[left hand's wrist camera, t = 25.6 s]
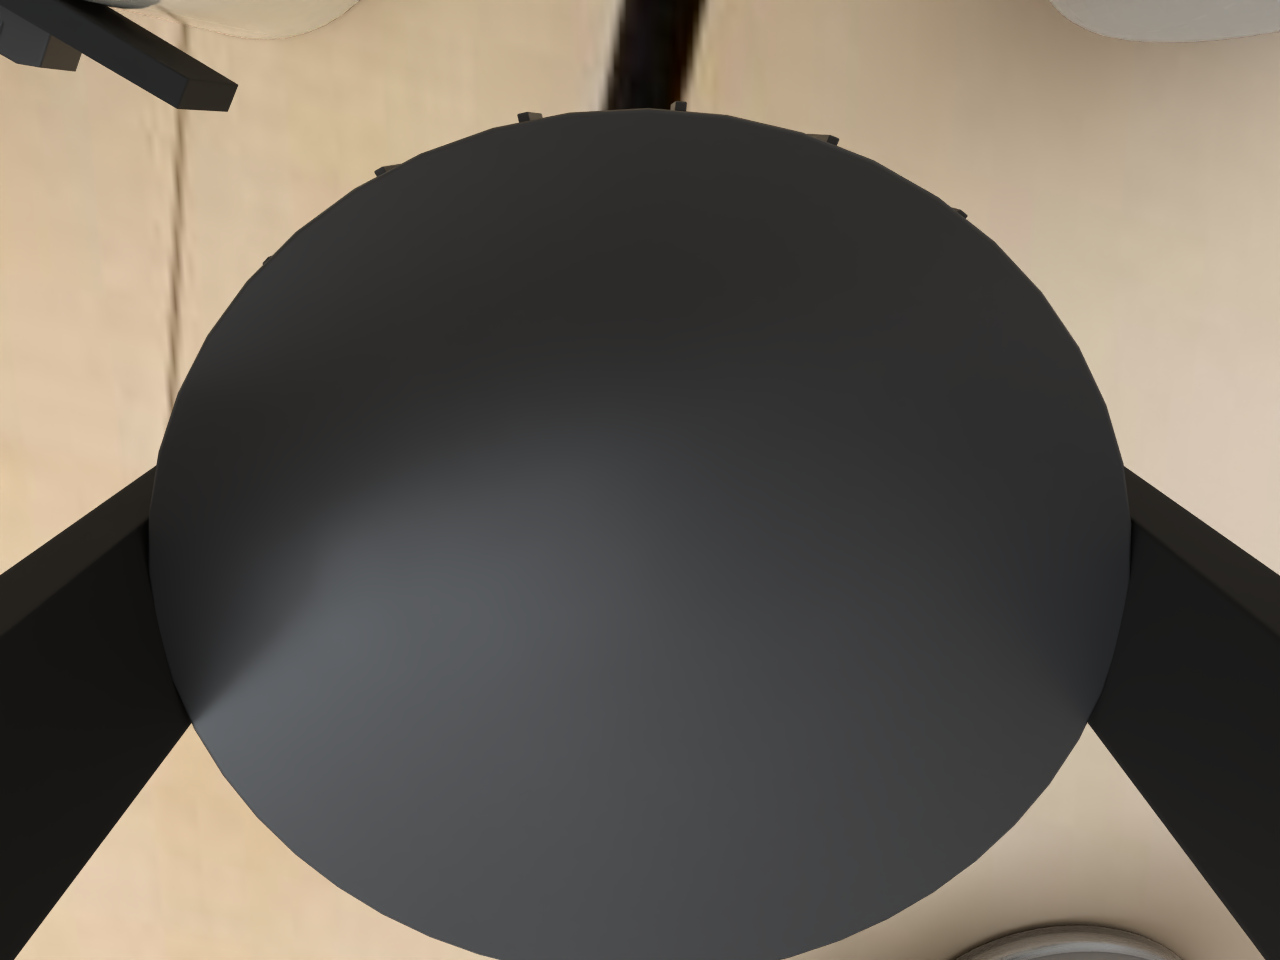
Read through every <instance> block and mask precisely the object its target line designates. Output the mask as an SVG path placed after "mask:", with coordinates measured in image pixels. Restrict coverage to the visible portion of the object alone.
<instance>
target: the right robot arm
mask: <svg viewBox="0 0 1280 960" xmlns="http://www.w3.org/2000/svg"><path fill="white" fill-rule="evenodd" d="M81 53H83V54H85V55H86V56H88V57H90V58H91V59H93V60H95V61H97V62H98V63H100V64H102V65H103V66H105V67H107V68H108V69H110V70H112V71H114V72H115V73H117V74H119V75H120V76H122V77H124V78H126V79H127V80H129V81H131V82H132V83H134V84H136V85H138V86H139V87H141V88H143V89H144V90H146V91H148V92H149V93H151V94H153V95H155V96H156V97H158V98H160V99H161V100H163V101H165V102H167V103H168V104H170V105H172V106H173V107H175V108H177V109H189V110H207V111H225V112H228V110H229V107H230V105H231V102H232V100H233V97H234V95H235V92H236V89H237V87H238V84H236V83H234V82H233V81H231V80H229V79H228V78H226V77H224V76H223V75H221V74H219V73H218V72H216V71H214V70H213V69H211V68H209V67H208V66H206V65H204V64H203V63H201V62H199V61H198V60H196V59H194V58H193V57H191V56H189V55H188V54H186V53H184V52H183V51H181V50H179V49H178V48H176V47H174V46H173V45H171V44H169V43H168V42H166V41H164V40H163V39H161V38H159V37H158V36H156V35H154V34H153V33H151V32H149V31H148V30H146V29H144V28H143V27H141V26H139V25H138V24H136V23H134V22H133V21H131V20H129V19H128V18H126V17H124V16H123V15H121V14H119V13H118V12H116V11H114V10H113V9H111V8H109V7H108V6H105V5H100V4H96V3H92V2H88V1H84V0H0V54H1V55H3V56H5V57H7V58H8V59H10V60H12V61H13V62H15V63H17V64H23V65H29V66H35V67H40V68H49V69H58V70H67V71H76V68H77V65H78V62H79V59H80V56H81Z"/></svg>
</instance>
